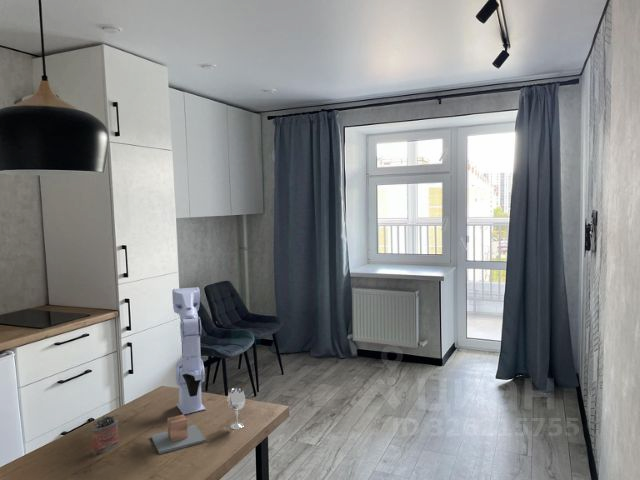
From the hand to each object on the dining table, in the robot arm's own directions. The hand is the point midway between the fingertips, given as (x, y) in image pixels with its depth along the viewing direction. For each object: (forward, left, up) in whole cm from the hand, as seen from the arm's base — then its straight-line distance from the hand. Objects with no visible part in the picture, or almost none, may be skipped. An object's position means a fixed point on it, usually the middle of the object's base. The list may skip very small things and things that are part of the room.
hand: (193, 395), depth 159 cm
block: (+7, -7, -10) cm, 14 cm away
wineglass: (+8, +12, -11) cm, 18 cm away
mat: (+7, -7, -10) cm, 14 cm away
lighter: (+1, -27, -11) cm, 29 cm away
